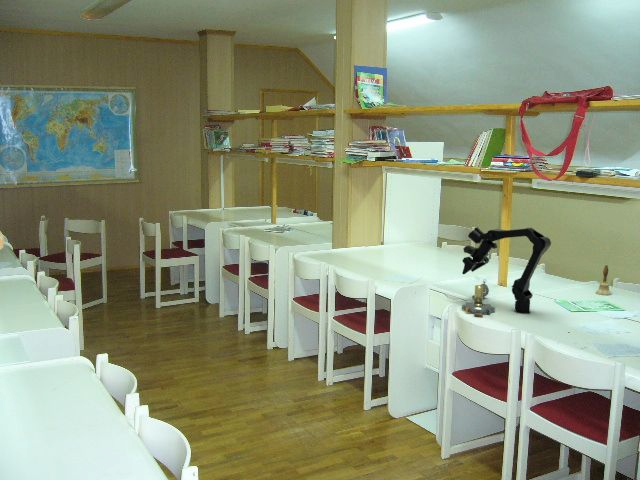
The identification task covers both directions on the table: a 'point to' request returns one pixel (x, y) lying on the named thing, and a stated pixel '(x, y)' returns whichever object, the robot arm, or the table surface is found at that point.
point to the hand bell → (604, 284)
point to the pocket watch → (485, 287)
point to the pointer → (478, 315)
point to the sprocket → (478, 303)
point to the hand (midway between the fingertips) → (467, 272)
